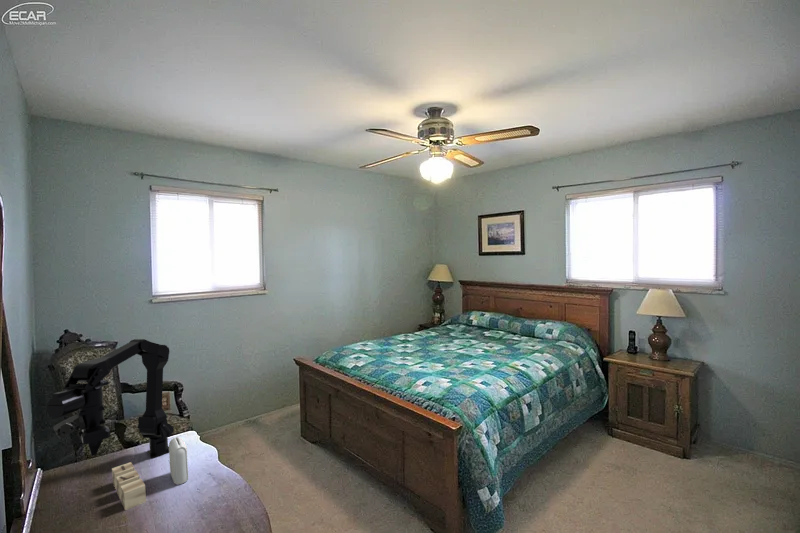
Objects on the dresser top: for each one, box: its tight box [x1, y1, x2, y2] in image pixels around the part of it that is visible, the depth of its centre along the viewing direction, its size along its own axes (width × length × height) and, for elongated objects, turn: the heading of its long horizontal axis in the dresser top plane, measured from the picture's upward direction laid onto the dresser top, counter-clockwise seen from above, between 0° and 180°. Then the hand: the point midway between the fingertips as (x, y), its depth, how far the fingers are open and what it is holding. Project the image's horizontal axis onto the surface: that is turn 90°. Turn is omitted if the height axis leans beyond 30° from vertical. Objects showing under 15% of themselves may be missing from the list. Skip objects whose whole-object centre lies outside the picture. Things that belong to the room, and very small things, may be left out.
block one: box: [111, 462, 135, 489], centre depth 120 cm, size 5×5×5 cm
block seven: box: [116, 469, 141, 501], centre depth 115 cm, size 5×5×5 cm
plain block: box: [120, 478, 147, 511], centre depth 110 cm, size 5×5×5 cm
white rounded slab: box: [168, 436, 189, 485], centre depth 122 cm, size 10×4×12 cm, turn 39°
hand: (93, 455), depth 114 cm, fingers closed
